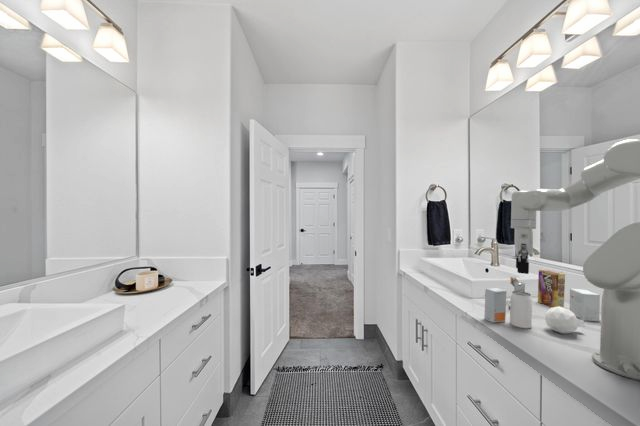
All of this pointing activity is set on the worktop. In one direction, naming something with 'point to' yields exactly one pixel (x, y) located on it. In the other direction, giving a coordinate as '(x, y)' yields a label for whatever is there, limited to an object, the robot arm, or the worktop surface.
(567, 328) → the white egg-shaped lump
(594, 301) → the small box
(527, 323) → the can
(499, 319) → the skincare box
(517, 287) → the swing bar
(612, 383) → the worktop surface
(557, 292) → the candy box
